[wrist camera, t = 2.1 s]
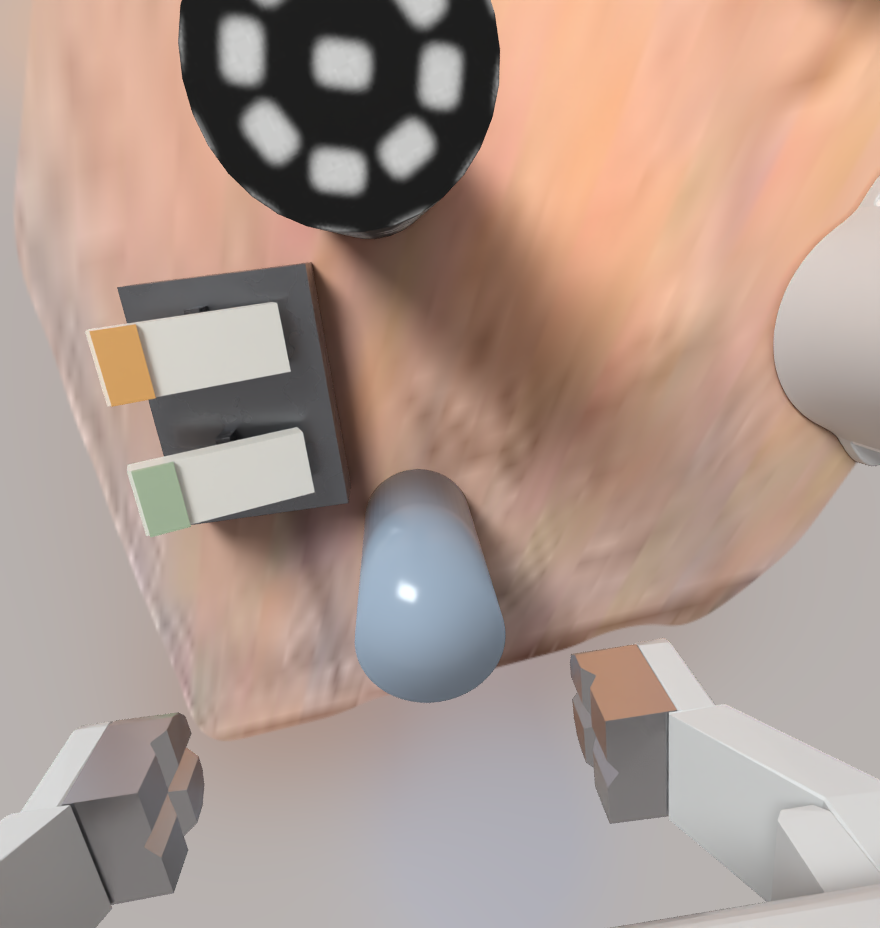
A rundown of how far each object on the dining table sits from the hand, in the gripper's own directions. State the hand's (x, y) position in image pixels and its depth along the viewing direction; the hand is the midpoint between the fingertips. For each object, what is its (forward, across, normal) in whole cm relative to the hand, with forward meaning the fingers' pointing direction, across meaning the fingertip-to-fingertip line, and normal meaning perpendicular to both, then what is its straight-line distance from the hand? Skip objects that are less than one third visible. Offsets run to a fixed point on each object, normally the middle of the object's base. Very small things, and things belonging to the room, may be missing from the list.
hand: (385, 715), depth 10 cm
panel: (+31, -8, 0) cm, 32 cm away
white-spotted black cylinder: (+31, 0, +12) cm, 33 cm away
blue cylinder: (+31, 0, -10) cm, 33 cm away
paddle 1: (+25, -10, +3) cm, 27 cm away
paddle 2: (+25, -10, -4) cm, 27 cm away
